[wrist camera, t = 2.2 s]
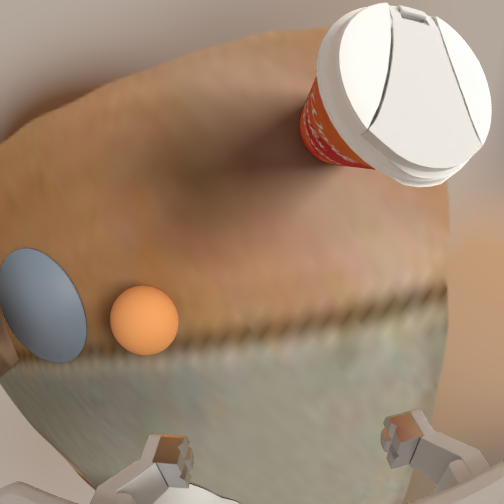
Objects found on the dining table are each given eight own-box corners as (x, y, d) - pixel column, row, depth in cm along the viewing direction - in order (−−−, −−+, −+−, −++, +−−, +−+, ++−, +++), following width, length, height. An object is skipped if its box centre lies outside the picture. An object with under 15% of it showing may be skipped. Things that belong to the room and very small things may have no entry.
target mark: (102, 366, 27) (101, 367, 27) (20, 357, 28) (19, 357, 27) (68, 241, 24) (67, 242, 24) (-12, 253, 25) (-13, 254, 24)
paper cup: (282, 81, 21) (313, -23, 7) (376, 87, 21) (481, 21, 7) (286, 179, 23) (330, 184, 9) (381, 181, 23) (503, 195, 9)
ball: (190, 333, 26) (175, 369, 21) (133, 334, 26) (110, 367, 21) (179, 274, 25) (159, 299, 19) (119, 278, 25) (90, 302, 19)
